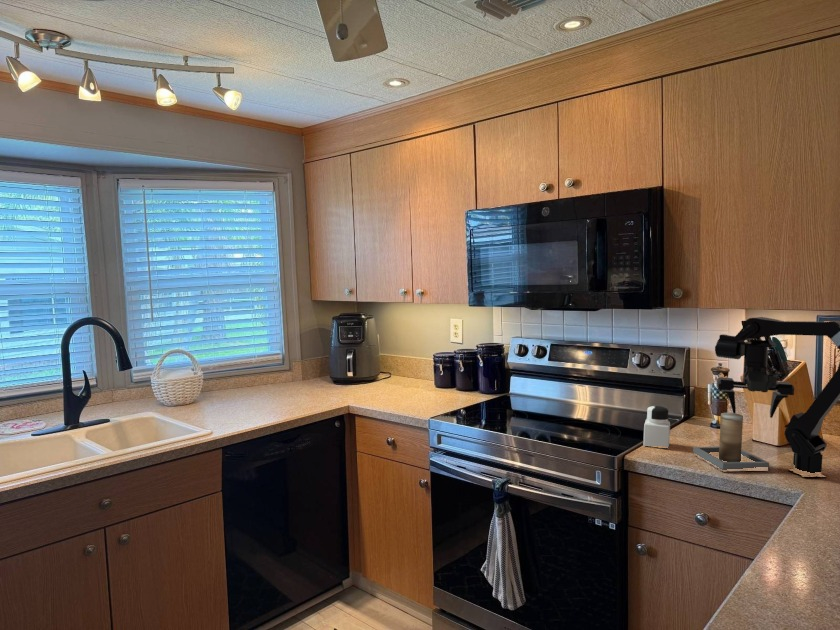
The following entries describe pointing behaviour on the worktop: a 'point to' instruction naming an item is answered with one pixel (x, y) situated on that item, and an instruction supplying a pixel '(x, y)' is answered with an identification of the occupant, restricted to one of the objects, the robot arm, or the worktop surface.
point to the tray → (722, 465)
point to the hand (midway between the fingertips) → (752, 415)
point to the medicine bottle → (657, 427)
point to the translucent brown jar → (730, 437)
